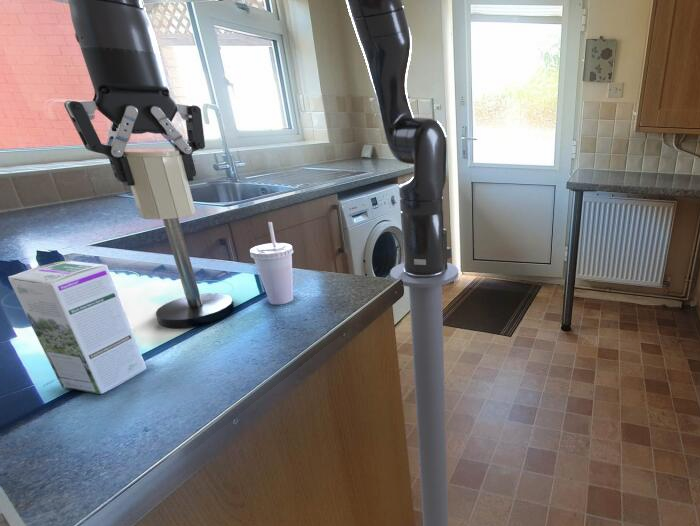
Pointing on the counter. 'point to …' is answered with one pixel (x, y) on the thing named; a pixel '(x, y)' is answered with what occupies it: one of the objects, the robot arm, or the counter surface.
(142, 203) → the cup
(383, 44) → the robot arm
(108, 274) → the syrup box
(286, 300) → the smoothie
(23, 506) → the counter surface
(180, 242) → the towel holder
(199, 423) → the counter surface
